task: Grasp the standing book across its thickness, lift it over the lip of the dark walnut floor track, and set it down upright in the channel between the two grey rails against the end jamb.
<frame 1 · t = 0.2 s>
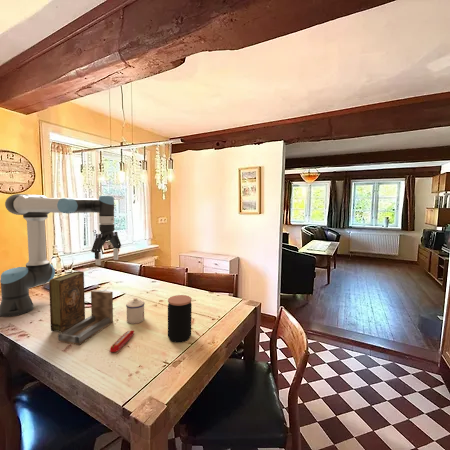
hand: (107, 262, 140), 28 cm above the table, fingers open, 13 cm apart
sculpture: (64, 289, 177), on the table
book: (69, 325, 126), on the table
teacup with lid: (134, 319, 134), on the table
candy bar: (122, 344, 111), on the table
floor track: (87, 331, 120), on the table
coffee jar: (179, 337, 117), on the table
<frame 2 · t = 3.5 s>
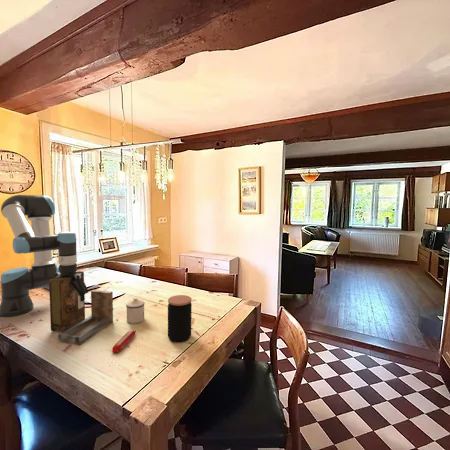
hand: (69, 306, 125), 10 cm above the table, fingers open, 13 cm apart
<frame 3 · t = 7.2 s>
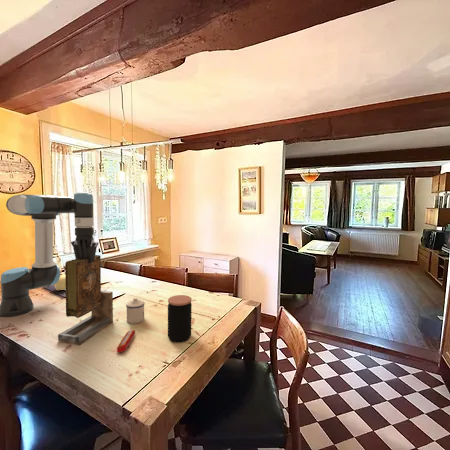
hand: (85, 277, 118), 26 cm above the table, fingers closed
book: (85, 311, 119), point 10 cm above the table, touching hand
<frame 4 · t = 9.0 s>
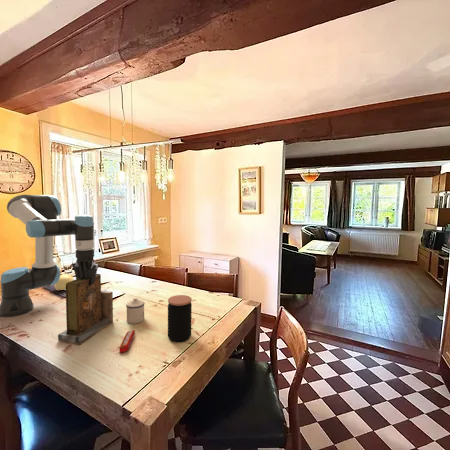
hand: (86, 298, 119), 16 cm above the table, fingers closed
book: (86, 330, 120), point 1 cm above the table, touching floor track
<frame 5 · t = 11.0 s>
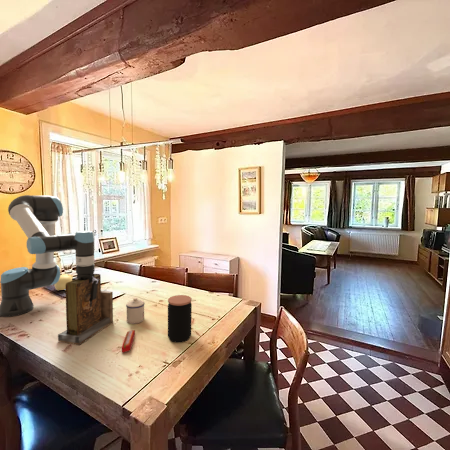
hand: (86, 313, 119), 9 cm above the table, fingers closed
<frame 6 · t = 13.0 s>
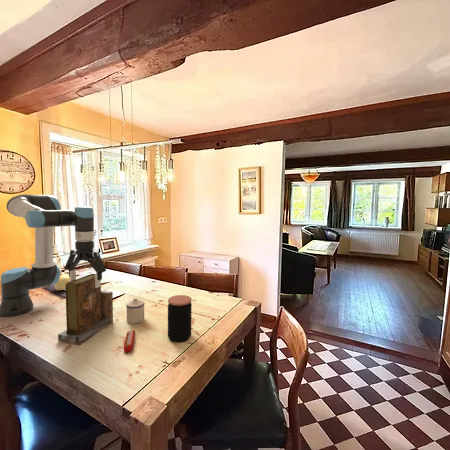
hand: (85, 285, 118), 22 cm above the table, fingers open, 13 cm apart
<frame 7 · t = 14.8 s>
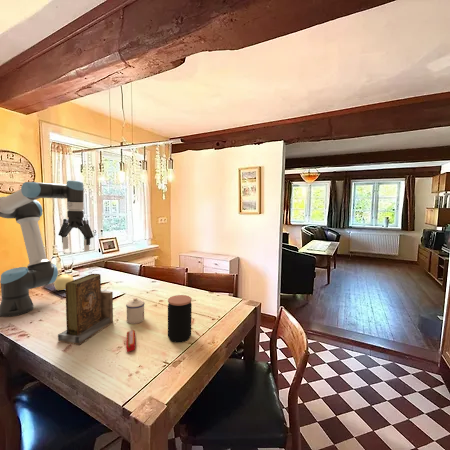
hand: (76, 250, 136), 35 cm above the table, fingers open, 13 cm apart
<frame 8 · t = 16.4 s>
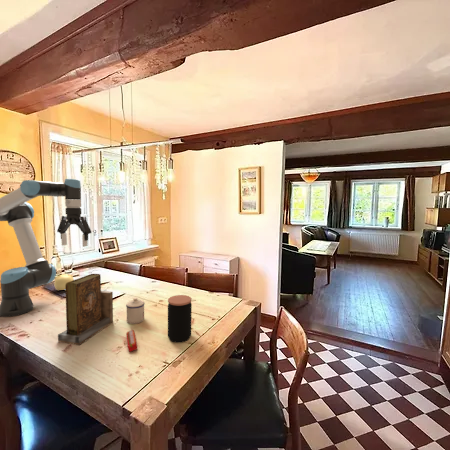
hand: (74, 245, 141), 37 cm above the table, fingers open, 13 cm apart
at the end: book inside the target area on the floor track (0.1 cm from its centre), point 0.6 cm above the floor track's base; book tilted 0°; the gripper is holding nothing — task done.
